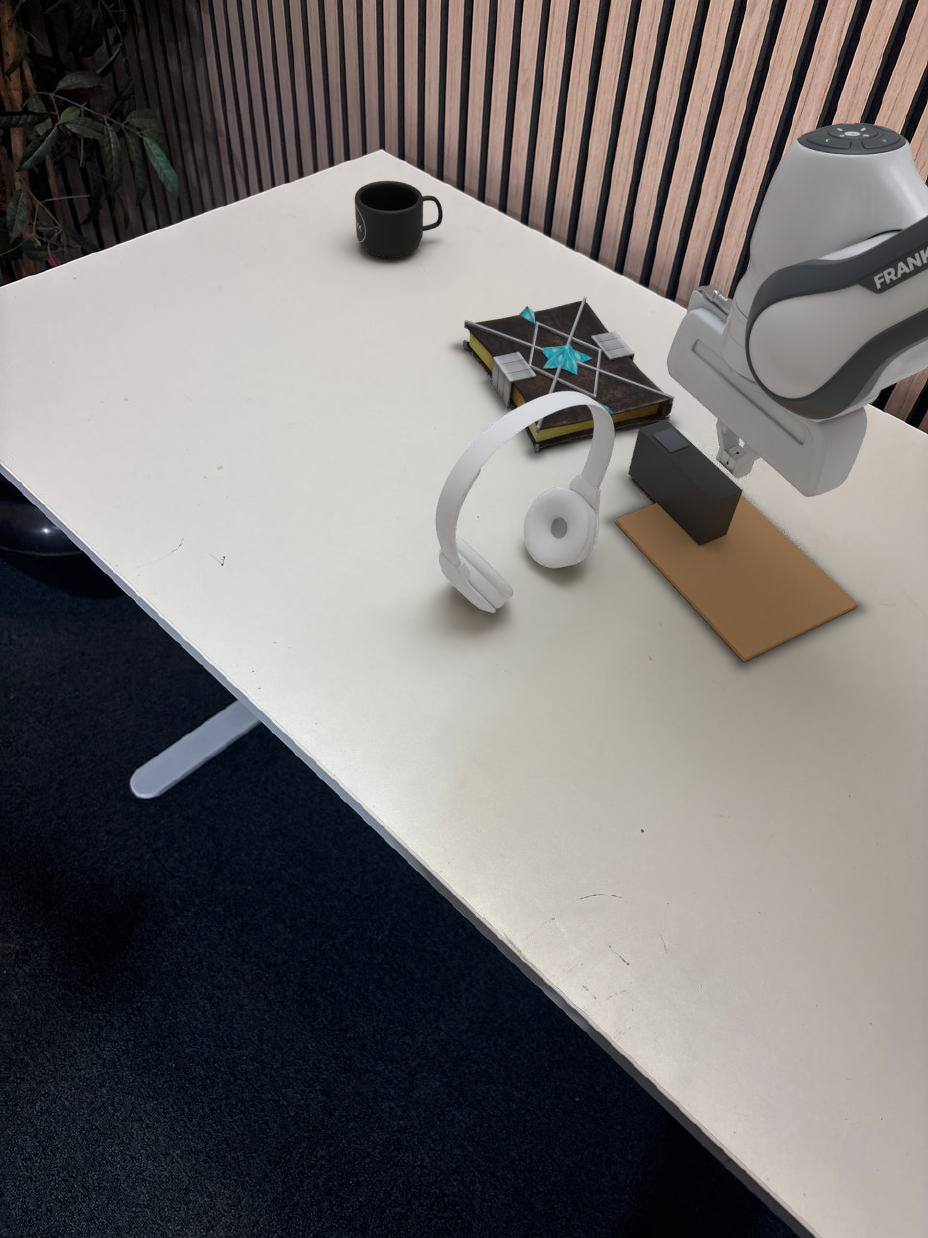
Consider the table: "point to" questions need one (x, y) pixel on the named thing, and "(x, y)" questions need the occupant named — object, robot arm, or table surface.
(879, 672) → the table surface
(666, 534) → the mat
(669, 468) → the device
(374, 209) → the mug
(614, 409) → the book
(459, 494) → the headphones
